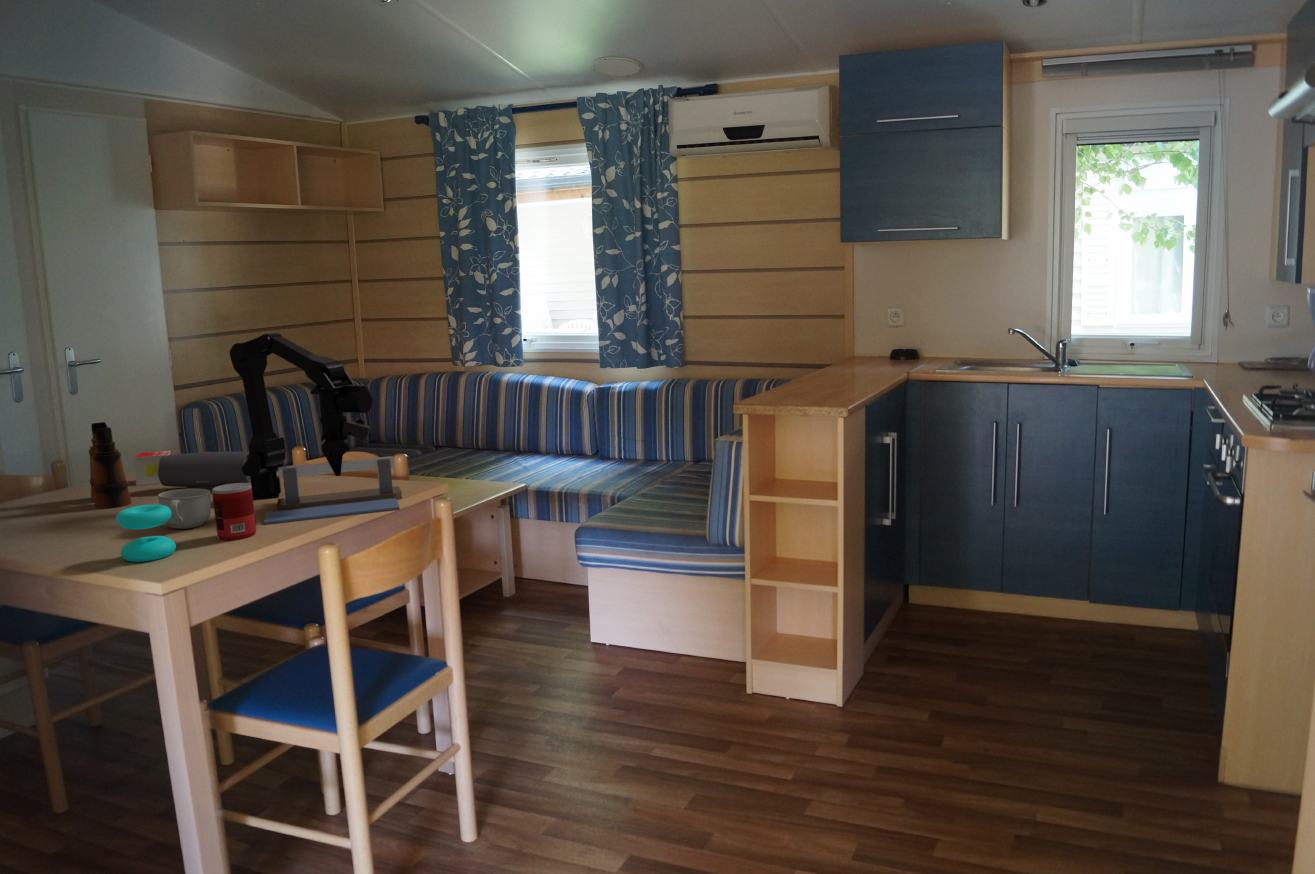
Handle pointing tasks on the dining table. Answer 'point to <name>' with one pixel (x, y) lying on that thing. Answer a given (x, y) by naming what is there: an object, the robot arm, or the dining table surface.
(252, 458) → the robot arm
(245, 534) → the canned food
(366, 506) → the mat
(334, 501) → the stand
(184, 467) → the bluetooth speaker
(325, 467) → the rail
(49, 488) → the dining table surface
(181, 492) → the teacup
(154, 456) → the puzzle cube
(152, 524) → the donuts
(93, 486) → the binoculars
